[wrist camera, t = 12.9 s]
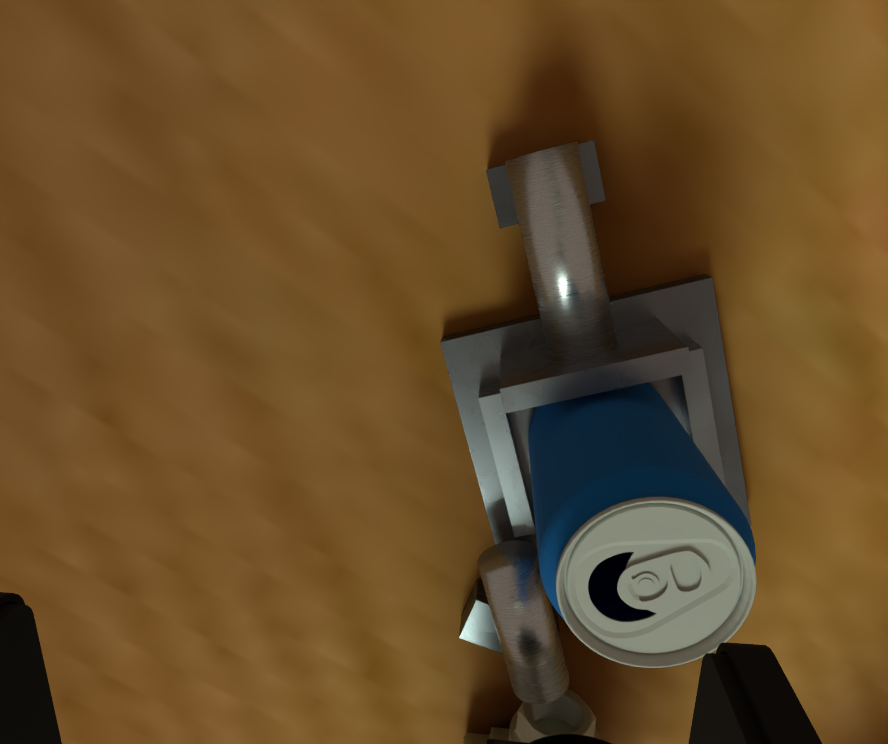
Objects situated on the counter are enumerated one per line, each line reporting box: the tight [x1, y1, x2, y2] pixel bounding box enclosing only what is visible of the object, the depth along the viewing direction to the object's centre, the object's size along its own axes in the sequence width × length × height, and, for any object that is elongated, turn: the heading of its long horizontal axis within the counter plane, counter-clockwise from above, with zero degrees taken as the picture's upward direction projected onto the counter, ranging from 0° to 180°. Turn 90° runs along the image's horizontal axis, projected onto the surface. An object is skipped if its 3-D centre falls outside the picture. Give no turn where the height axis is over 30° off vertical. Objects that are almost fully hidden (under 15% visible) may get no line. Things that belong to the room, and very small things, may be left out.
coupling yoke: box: [440, 140, 751, 704], centre depth 29 cm, size 24×15×6 cm, turn 15°
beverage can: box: [528, 383, 756, 668], centre depth 25 cm, size 6×6×12 cm
